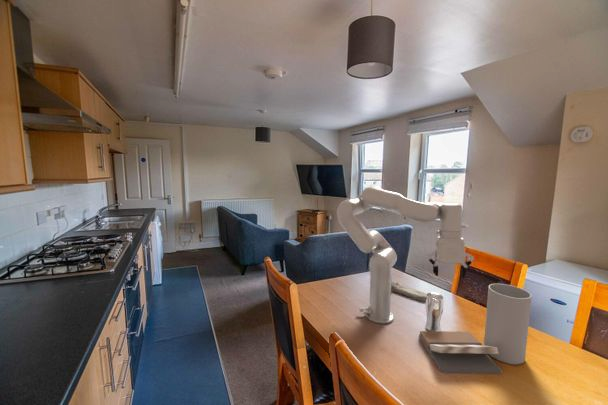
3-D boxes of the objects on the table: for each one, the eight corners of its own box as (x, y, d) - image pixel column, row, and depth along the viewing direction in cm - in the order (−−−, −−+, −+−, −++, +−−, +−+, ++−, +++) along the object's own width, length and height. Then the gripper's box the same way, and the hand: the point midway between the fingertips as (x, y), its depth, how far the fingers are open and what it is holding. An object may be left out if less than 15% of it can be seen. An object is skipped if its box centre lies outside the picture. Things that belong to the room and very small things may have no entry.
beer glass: (440, 325, 118) (442, 293, 117) (443, 334, 112) (445, 300, 110) (423, 322, 121) (425, 291, 119) (425, 331, 114) (427, 298, 112)
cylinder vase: (527, 370, 92) (535, 302, 89) (484, 357, 98) (489, 293, 95) (521, 350, 102) (528, 288, 99) (482, 339, 109) (487, 281, 106)
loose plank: (440, 352, 92) (439, 346, 92) (430, 350, 99) (429, 344, 100) (498, 353, 91) (497, 347, 92) (484, 351, 99) (483, 344, 100)
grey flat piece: (442, 372, 91) (442, 362, 90) (418, 338, 109) (419, 329, 109) (501, 373, 90) (502, 363, 90) (467, 338, 109) (468, 330, 109)
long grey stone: (425, 307, 137) (433, 302, 144) (427, 298, 136) (434, 293, 143) (368, 283, 162) (377, 279, 169) (369, 275, 162) (378, 272, 169)
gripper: (429, 235, 104) (428, 277, 106) (478, 237, 100) (476, 280, 102) (425, 231, 111) (424, 271, 113) (471, 232, 107) (469, 273, 109)
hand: (449, 275), depth 107 cm, fingers open, 9 cm apart
